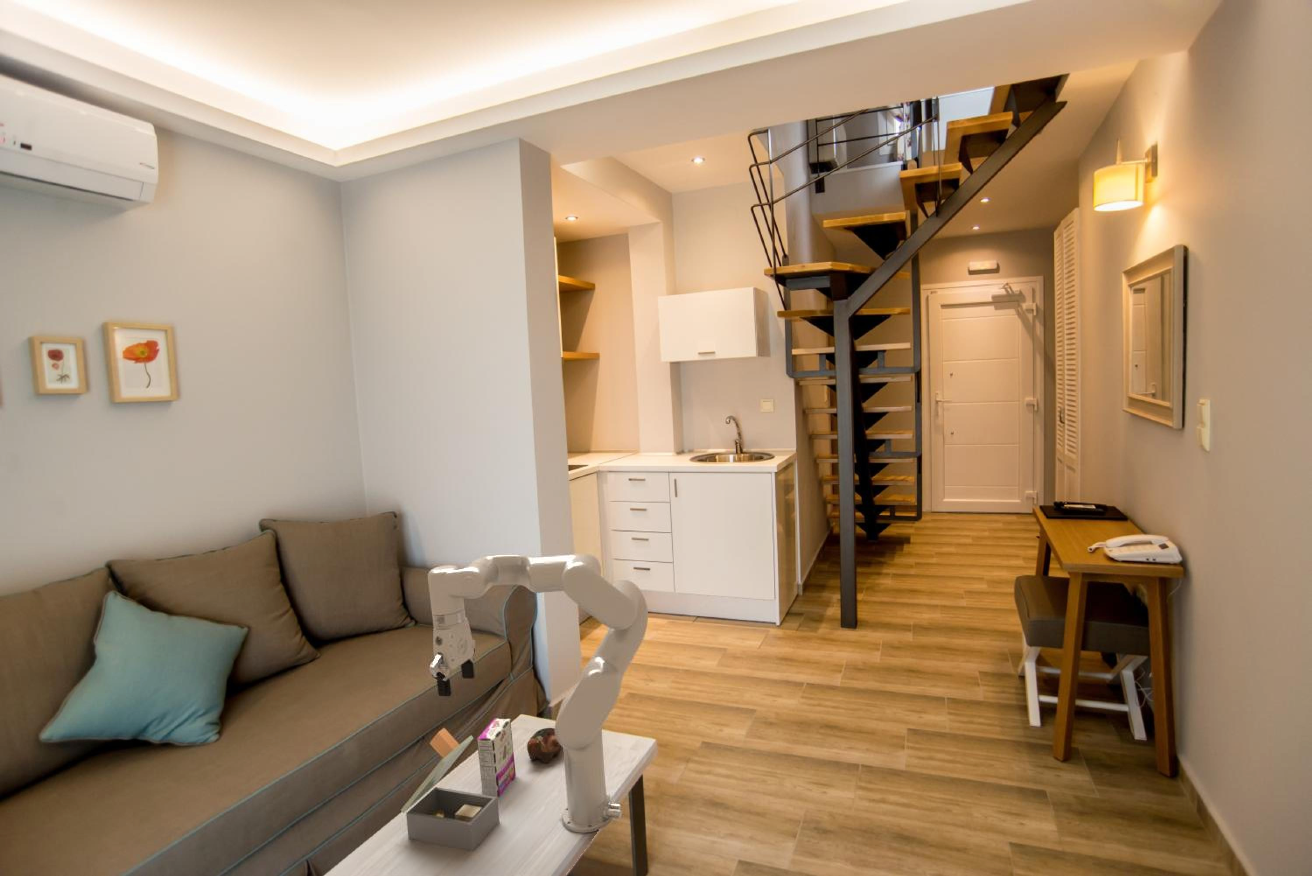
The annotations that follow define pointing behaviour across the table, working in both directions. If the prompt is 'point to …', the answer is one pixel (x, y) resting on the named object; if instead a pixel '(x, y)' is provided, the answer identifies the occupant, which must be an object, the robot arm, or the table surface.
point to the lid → (448, 752)
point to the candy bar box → (496, 757)
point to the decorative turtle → (543, 745)
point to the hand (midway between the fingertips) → (457, 686)
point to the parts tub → (452, 819)
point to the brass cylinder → (437, 813)
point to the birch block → (467, 813)
